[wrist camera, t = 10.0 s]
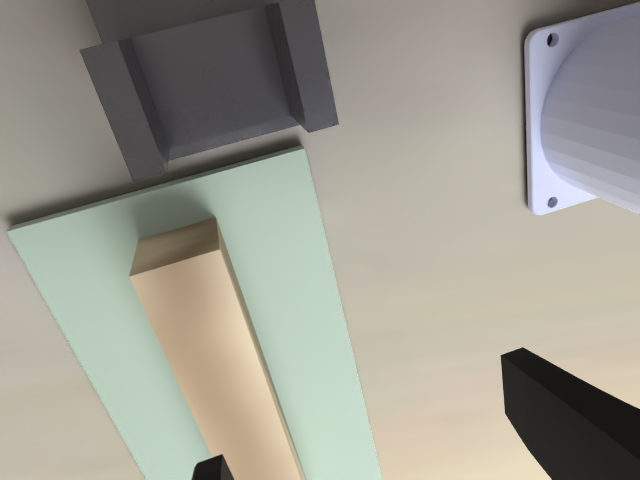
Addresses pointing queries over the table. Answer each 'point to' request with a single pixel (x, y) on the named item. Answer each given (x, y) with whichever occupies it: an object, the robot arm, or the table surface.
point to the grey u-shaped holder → (206, 74)
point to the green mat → (258, 291)
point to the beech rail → (214, 349)
